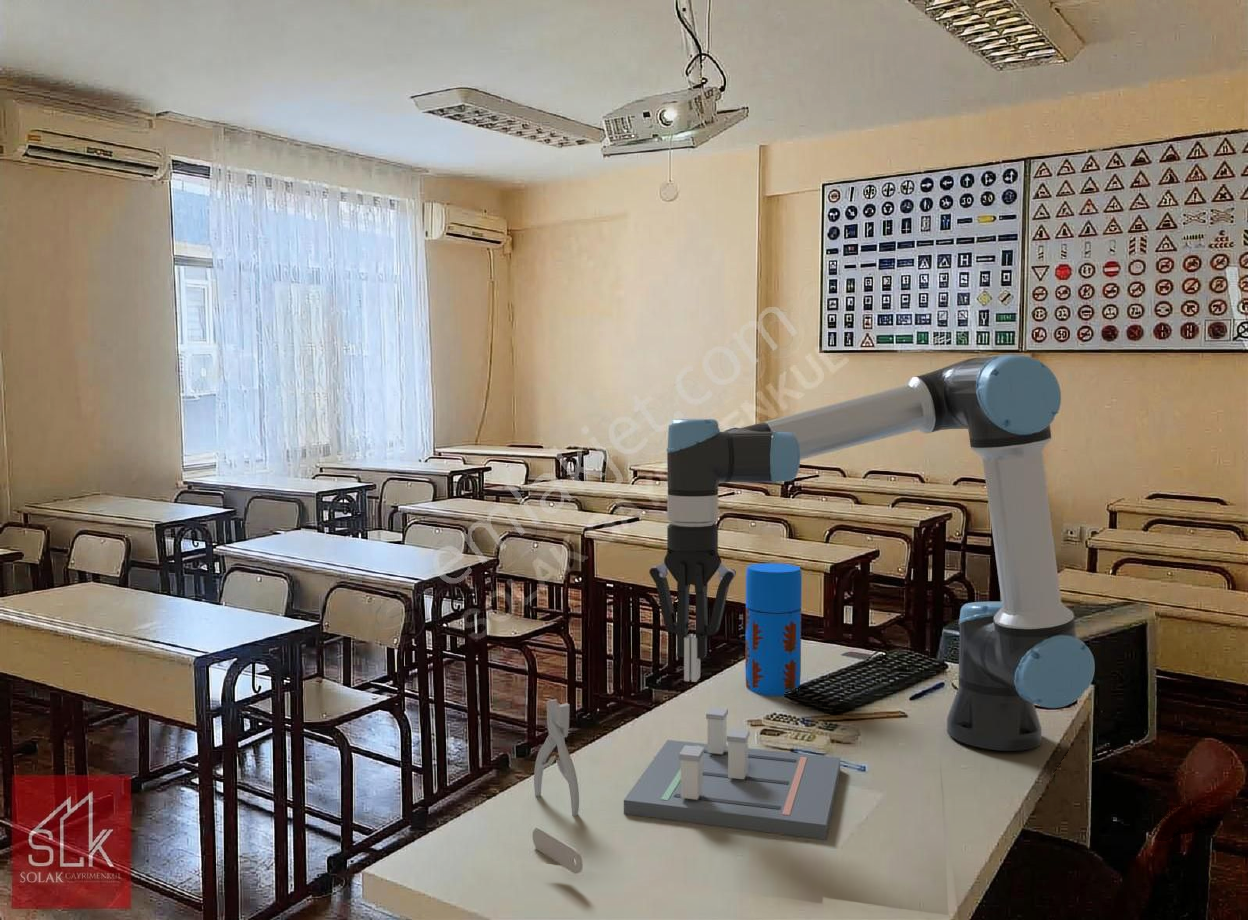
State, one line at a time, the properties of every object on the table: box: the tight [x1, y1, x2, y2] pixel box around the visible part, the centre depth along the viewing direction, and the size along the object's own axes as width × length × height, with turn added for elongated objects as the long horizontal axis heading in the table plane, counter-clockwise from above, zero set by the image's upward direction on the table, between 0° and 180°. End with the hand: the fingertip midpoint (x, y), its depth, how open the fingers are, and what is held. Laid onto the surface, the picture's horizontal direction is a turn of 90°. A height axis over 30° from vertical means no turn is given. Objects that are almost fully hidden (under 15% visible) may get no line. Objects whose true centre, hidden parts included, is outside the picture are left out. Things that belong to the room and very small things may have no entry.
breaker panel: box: [623, 739, 841, 840], centre depth 144 cm, size 28×25×2 cm
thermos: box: [744, 562, 802, 697], centre depth 192 cm, size 11×11×25 cm
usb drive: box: [840, 651, 872, 661], centre depth 211 cm, size 5×12×3 cm, turn 53°
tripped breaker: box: [726, 727, 751, 779], centre depth 144 cm, size 3×4×6 cm
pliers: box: [533, 699, 580, 817], centre depth 139 cm, size 10×2×15 cm, turn 41°
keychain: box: [532, 827, 583, 875], centre depth 123 cm, size 10×1×3 cm, turn 39°
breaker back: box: [705, 706, 729, 754], centre depth 154 cm, size 3×4×6 cm
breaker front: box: [679, 745, 704, 800], centre depth 137 cm, size 3×4×6 cm
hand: (692, 678), depth 145 cm, fingers closed
